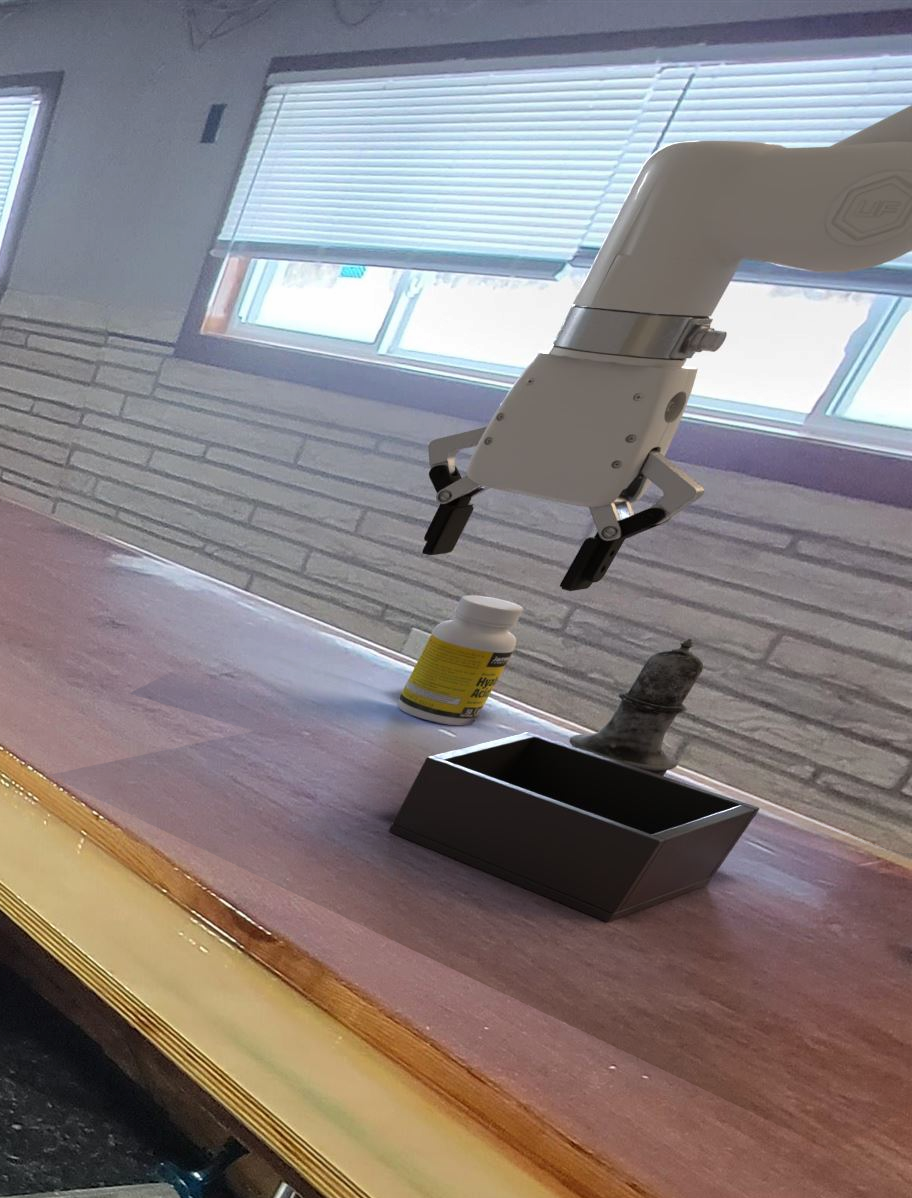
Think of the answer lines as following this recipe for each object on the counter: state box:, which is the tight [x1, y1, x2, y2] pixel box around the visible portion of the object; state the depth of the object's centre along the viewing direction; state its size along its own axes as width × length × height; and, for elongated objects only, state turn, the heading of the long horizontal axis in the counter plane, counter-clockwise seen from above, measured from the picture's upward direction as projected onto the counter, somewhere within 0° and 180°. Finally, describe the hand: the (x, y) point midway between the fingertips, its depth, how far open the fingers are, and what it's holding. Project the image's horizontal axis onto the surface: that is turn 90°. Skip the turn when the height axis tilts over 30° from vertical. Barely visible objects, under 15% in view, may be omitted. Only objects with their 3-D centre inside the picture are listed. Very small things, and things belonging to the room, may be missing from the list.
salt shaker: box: [569, 638, 704, 777], centre depth 86 cm, size 6×6×12 cm
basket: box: [388, 731, 760, 923], centre depth 79 cm, size 12×12×6 cm
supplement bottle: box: [396, 594, 524, 726], centre depth 100 cm, size 5×5×10 cm
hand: (502, 570), depth 97 cm, fingers open, 9 cm apart
